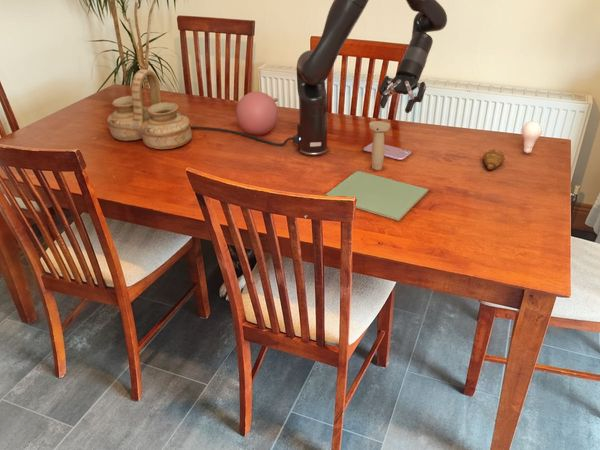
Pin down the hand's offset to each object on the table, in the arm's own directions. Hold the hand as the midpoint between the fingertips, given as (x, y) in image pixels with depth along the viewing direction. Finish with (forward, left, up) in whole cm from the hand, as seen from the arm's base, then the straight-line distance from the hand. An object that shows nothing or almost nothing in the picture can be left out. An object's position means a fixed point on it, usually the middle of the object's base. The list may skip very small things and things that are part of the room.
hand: (394, 109), depth 174 cm
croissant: (+30, +13, -17) cm, 37 cm away
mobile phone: (-3, +3, -17) cm, 17 cm away
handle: (0, -10, -17) cm, 20 cm away
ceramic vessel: (-82, -31, -17) cm, 89 cm away
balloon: (-51, -4, -17) cm, 54 cm away
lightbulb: (+37, +27, -17) cm, 49 cm away
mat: (+8, -26, -17) cm, 32 cm away
